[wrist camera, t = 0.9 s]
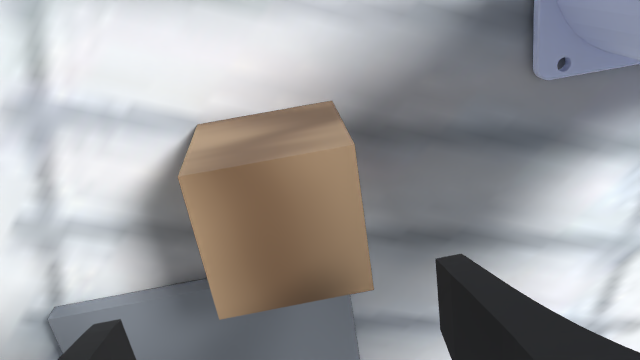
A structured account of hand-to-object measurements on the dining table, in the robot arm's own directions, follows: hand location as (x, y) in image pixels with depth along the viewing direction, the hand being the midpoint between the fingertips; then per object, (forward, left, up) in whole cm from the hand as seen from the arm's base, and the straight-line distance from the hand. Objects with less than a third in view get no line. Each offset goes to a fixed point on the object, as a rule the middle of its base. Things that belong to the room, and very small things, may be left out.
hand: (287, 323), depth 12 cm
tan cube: (0, 0, -9) cm, 9 cm away
